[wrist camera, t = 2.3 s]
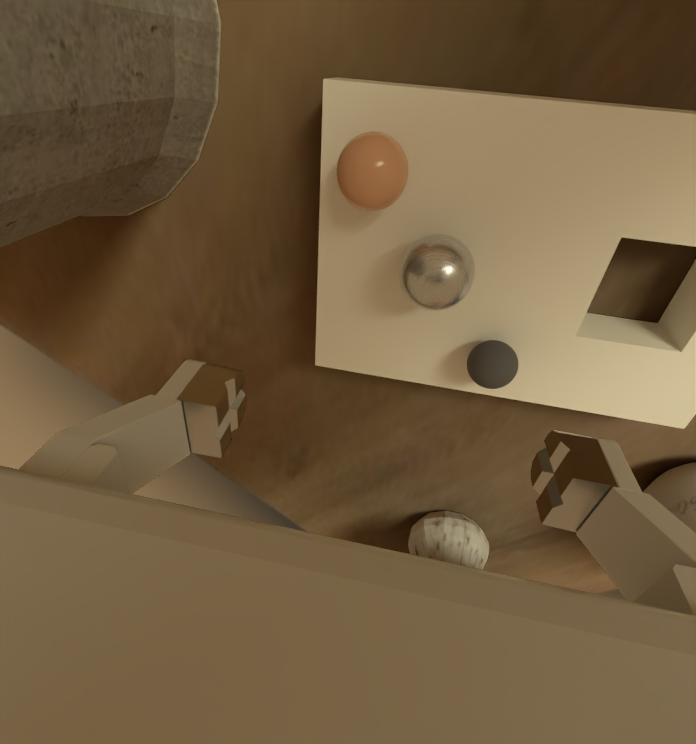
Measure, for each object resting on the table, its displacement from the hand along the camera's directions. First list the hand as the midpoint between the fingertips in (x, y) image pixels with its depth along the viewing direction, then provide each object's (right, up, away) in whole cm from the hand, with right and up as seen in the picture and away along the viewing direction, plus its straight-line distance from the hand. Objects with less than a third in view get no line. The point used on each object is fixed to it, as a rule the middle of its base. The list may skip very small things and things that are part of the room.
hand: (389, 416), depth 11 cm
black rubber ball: (+8, +2, +14) cm, 16 cm away
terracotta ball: (0, +11, +9) cm, 14 cm away
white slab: (+10, +8, +15) cm, 20 cm away
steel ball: (+4, +6, +11) cm, 13 cm away
